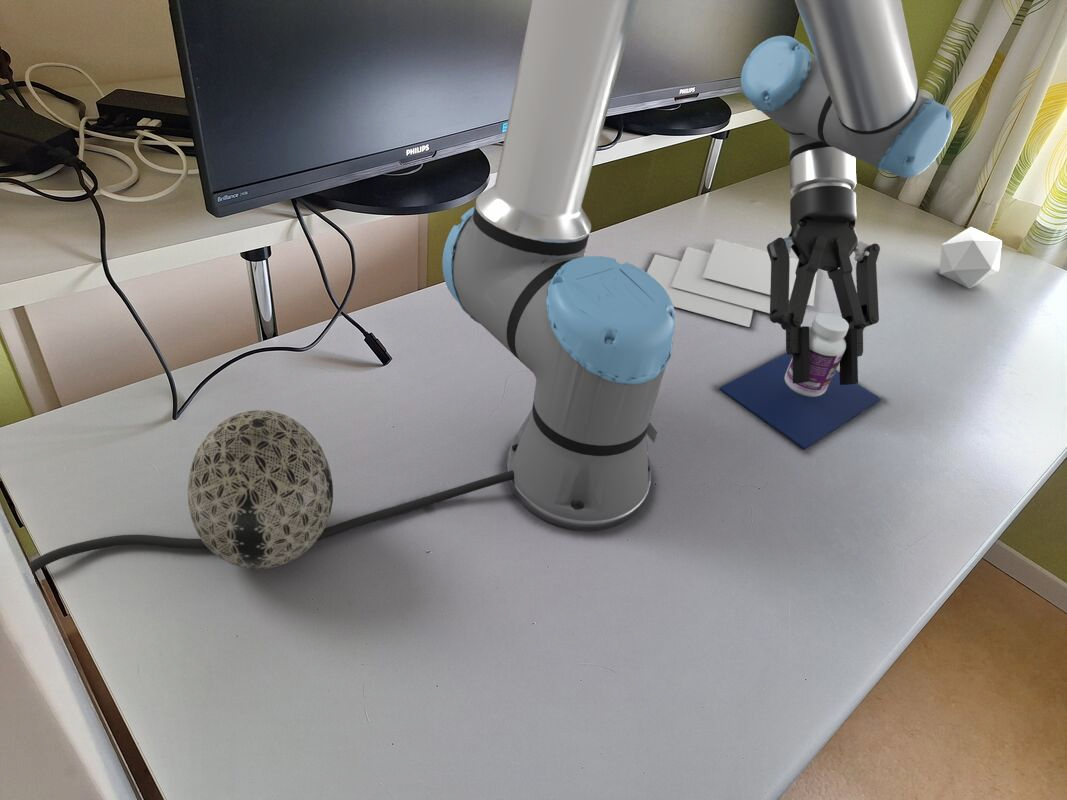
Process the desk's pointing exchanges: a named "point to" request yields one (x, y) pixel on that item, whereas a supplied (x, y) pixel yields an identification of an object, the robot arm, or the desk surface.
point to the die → (970, 257)
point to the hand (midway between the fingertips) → (825, 382)
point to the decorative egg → (259, 490)
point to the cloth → (797, 402)
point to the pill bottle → (821, 354)
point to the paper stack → (721, 281)
